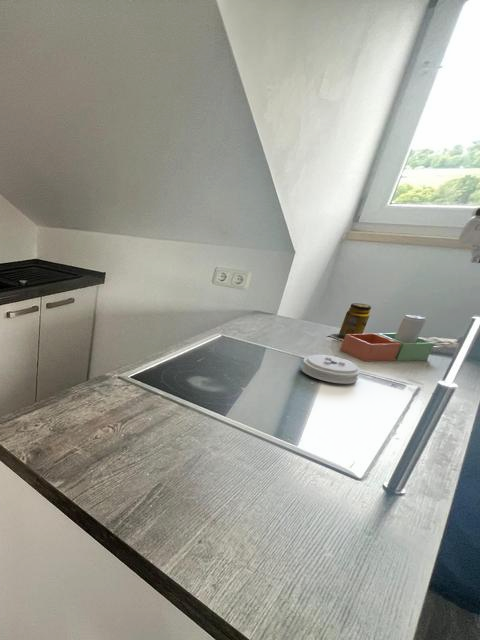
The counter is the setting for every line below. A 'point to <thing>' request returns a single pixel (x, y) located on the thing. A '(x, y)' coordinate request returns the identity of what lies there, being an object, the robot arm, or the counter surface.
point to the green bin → (411, 348)
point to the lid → (330, 369)
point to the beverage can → (410, 328)
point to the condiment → (354, 321)
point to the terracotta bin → (370, 347)
